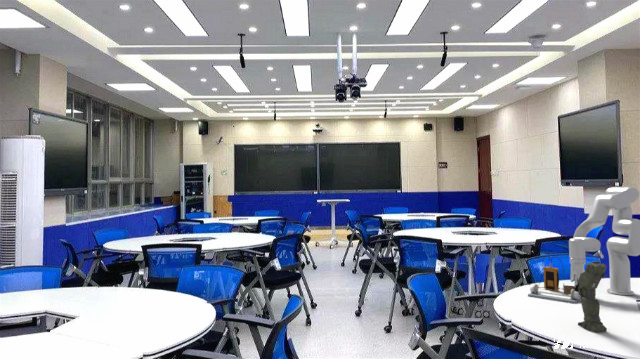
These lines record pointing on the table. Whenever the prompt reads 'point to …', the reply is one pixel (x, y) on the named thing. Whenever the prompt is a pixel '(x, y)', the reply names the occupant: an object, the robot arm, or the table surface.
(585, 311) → the mechanical leg
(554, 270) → the multimeter
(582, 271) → the robot arm
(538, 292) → the pipe run
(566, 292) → the wood plank
